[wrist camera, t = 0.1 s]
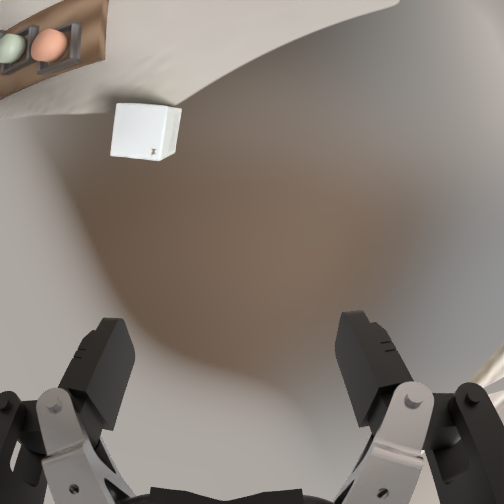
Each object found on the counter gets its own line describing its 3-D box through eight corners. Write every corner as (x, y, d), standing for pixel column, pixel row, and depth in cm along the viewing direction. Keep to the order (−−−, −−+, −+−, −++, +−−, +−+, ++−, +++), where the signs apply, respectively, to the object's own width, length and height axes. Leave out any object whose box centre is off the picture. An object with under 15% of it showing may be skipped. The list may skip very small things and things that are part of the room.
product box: (183, 107, 32) (169, 105, 26) (175, 154, 35) (160, 162, 28) (137, 103, 32) (115, 102, 25) (131, 148, 34) (108, 156, 28)
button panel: (-19, 52, 22) (-33, 51, 19) (109, -11, 23) (98, -20, 19) (-21, 111, 27) (-36, 114, 24) (105, 59, 28) (91, 55, 25)
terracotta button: (44, 38, 22) (32, 35, 19) (69, 28, 22) (58, 23, 20) (42, 66, 24) (29, 65, 21) (67, 56, 24) (55, 53, 21)
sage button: (7, 42, 21) (-5, 41, 18) (27, 31, 21) (15, 28, 18) (5, 67, 23) (-7, 67, 20) (25, 57, 23) (12, 55, 20)
